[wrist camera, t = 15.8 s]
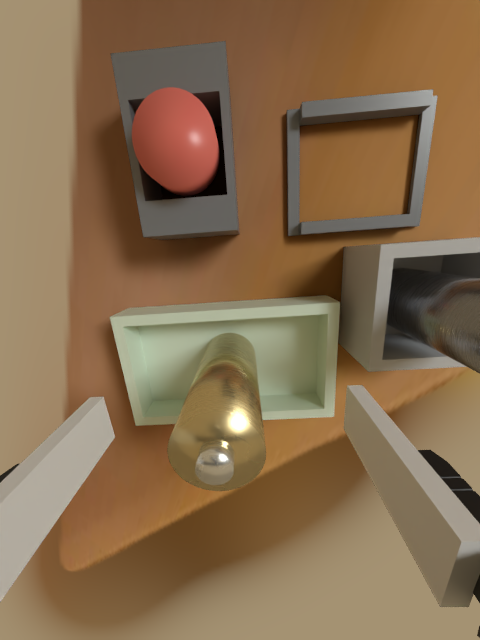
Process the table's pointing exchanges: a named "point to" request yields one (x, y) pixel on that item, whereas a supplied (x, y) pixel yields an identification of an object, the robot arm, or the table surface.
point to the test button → (176, 141)
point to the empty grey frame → (352, 111)
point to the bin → (373, 299)
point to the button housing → (214, 92)
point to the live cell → (221, 419)
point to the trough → (244, 319)
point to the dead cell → (438, 312)
